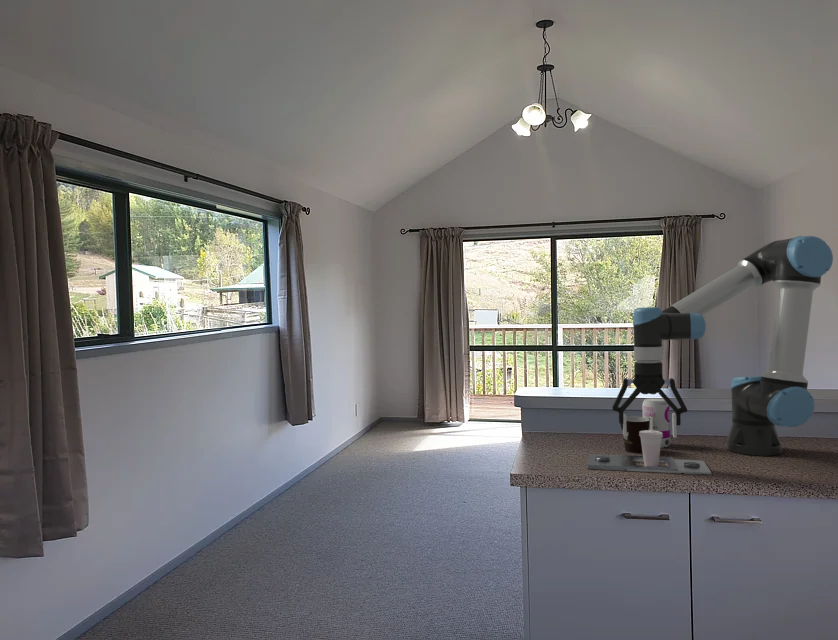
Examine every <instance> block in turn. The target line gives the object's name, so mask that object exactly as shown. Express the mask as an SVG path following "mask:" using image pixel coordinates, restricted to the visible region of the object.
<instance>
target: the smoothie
mask: <svg viewBox="0 0 838 640" xmlns="http://www.w3.org/2000/svg"><path fill="white" fill-rule="evenodd" d="M650 422H651V430H644V431H640V432H639V436H640V437H641V445H642V452H643V453H642V456H643V459H644V462H643V463H644V464H643V466H660V463H659V457H661V456H660V455H661V439H662V437H663V433H662V432H659V431H653V417H650Z"/></svg>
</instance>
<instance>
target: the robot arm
mask: <svg viewBox="0 0 838 640" xmlns="http://www.w3.org/2000/svg"><path fill="white" fill-rule="evenodd" d="M833 260H834V255H833V251H832V249H831V247H830V246H829V244H827V243H826V241H825V240H823V239H822V238H821V237H817V236H815V235H804V236H802V235H799V236H795V237H791V238H785V239H778V240H775V241H771V242H769V243H767V244H765V245H763V246H762V247H760V248H759V249H757V250H755V251H754V252H752V253H750V254H749V255H747V256H745V257H744V258H743V259H740V260H739V261H738V262H737V266H736V267H733V268H732V269H730V270H729V271H727V272H725V273H724V274H721V275H720V276H719V277H716V278H715V279H714V280H712V281H710V282H709V283H707V284H705V285H703V286H702V287H700V288H698V289H697V290H695V291H693V292H692V293H690V294H688V295H687V296H685V297H682V299H680V300H679V301H677V302H675V303H673V304H672V305H670V306H669V307H666V308H664V309H662V308H661V307H657V306H654V307H653V306H652V307H651V306H650V307H648V306H647V307H636V308H635V309H634V311H633V316H632V317H633V320H632V322H633V323H632V325H633V326H632V327H633V360H634V361H635V362H634V363H633V364H634V365H633V369H634V372H633V373H634V375H633V376H634V377H633V378H627V377H624V378H623V379H622V386H621V388H620V390H619V392H618V394H617V396H616V398H615V401H614V402H613V404H612V410H613V411H614V412H617V413H618V422H619V424H620V425H621V424H623V431H622V435H623V434H624V436H627V433H626V417H627V412H626V409H628V407H630V405H631V404H632V403H633V402H634V400H635V399H636V398H637V397H638V396H639V395H640V394H642V395H657V394H659V396H660V397H661V398H662V399H664V400H665V401H666V402H667V403H668V405H669V406H670V408H671V409H672V411H673V412H672V413H671V414H672V415H671V416H672V417H671V418H672V419H671V421H672V422H671V424H672V437H673V438H674V439H675V438H678V435H677V433H678V432H677V426H681V423H682V421H681V420H682V419H681V416H682V413H687V412H688V408H687V406H686V404H685V402H684V401H683V398H682V397H681V395H680V393H679V391H678V389H677V386H676V380H675V379H674V378H672V377H671V378H665V379H664V375H663V373H664V371H663V363H662V362H661V361H662V360H663V341H671V340H672V341H673V340H675V341H677V340H678V341H679V340H680V341H681V340H686V341H687V340H690V341H691V340H698V339H699V340H700V339H702V338H703V337H704V335H705V332H706V329H707V328H706V327H707V326H706V320H705V317H704V316H705V315H706V314H709V313H710V312H712V311H713V310H715V309H717V308H719V307H720V306H722V305H723V304H726V303H727V302H729V301H731V300H732V299H734V298H735V297H737V296H739V295H740V294H742V293H744V292H746V291H747V290H749V289H751V288H752V287H753V288H759V287H761V286H762V285H764V284H767V283H770V282H771V281H772V283H773V285H774V286H775V287H776V288H777V296H776V301H775V302H776V303H775V311H774V319H773V327H772V336H771V343H770V352H769V360H768V368H767V370H766V371H765V372H764V373H762V374H761V375H760V376H758V375H757V376H736V377H734V378H732V379H731V388H730V391H731V418H732V419H731V420H732V421H731V427H730V428H729V429H730V430H729V432H728V435H727V437H726V438H727V439H726V443H725V444H726V446H725V447H726V450H727V451H729V452H730V451H731V452H733V453H736V454H737V453H738V454H741V455H742V454H743V455H749V456H776V455H778V456H779V455H781V454H782V453H783V446H782V445H783V444H782V443H781V439H780V437H779V433H778V432H777V431H778V430H777V428H776V426H778V427H785V428H796V427H799V426H802V425H803V424H805V423H806V422H808V421H809V419H811V417H812V415H813V414H814V411H815V406H816V405H815V400H814V397H813V396H812V393H810V392H809V391H808V385H809V381H808V380H807V379H806V377H805V376H804V367H805V359H806V358H805V357H806V349H807V342H808V334H809V326H810V317H811V309H812V303H813V294H814V291H815V290H816V289H818V288H819V287H820V286H821V282H822V276H823V275H826V274H827V272H829V271H830V270H831V267H832V265H833V262H834V261H833ZM631 384H633V385H634V386H635V389H634V390H633V391H632V393H631V394H630V396H629V397H628V398H626V399H625V401H624V402H623V403H622V404H621V406H619V405H620V403H621V401H622V399H623V398H624V395H625V393H626V392H627V388H628V387H630V386H631ZM664 385H667V387H669V388H670V390H671V391H672V393H673V395H674V398H675V399H676V401H677V403H678V405H679V407H680V408H679V407H677V405H676V404H675V403H674V402H673V401H672V400H671V399H670V398H669V396H668V395H666V394H667V393H665V392H664V390H663V389H662V388H663V387H664Z"/></svg>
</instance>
